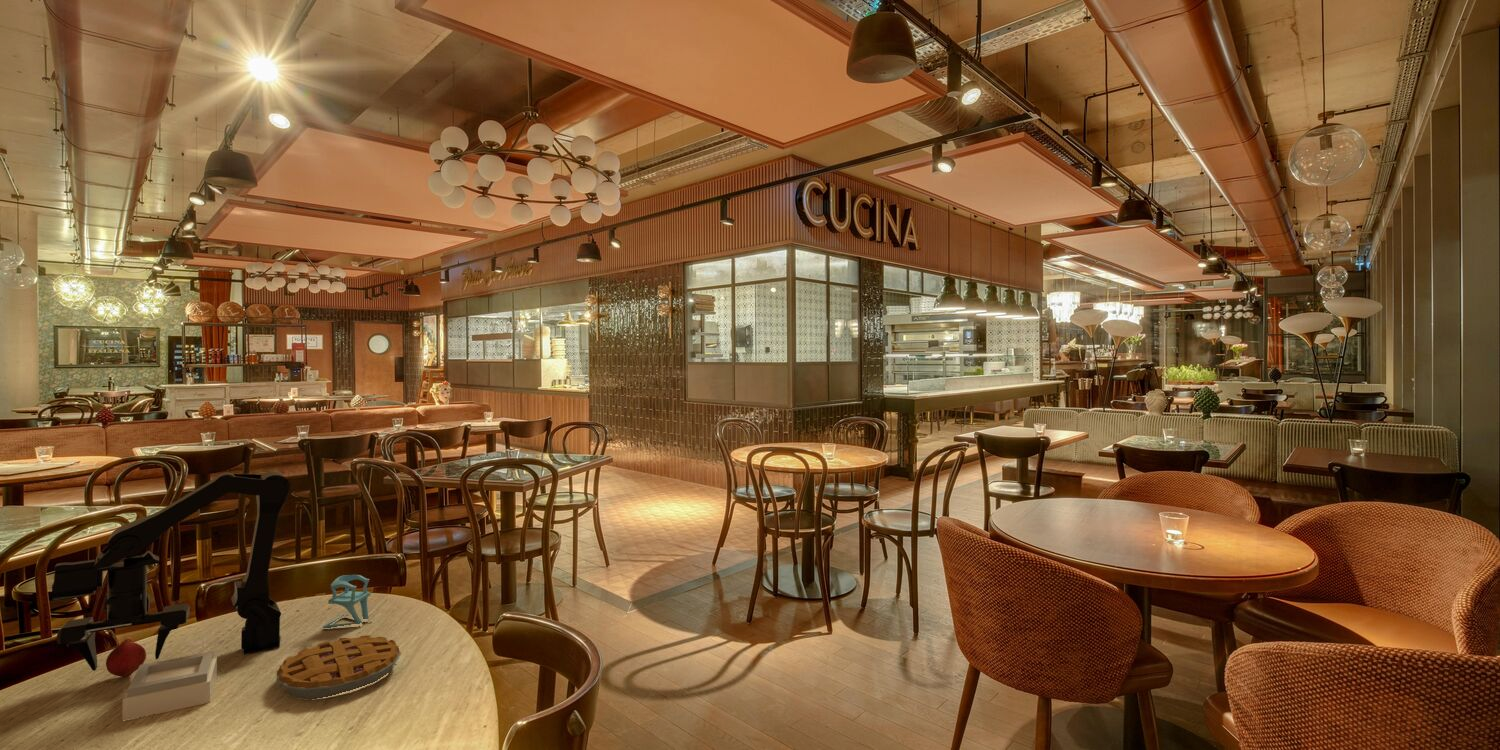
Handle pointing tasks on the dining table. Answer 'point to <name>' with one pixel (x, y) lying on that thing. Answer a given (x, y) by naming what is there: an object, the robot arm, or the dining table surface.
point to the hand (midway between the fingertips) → (126, 663)
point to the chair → (349, 598)
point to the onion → (125, 658)
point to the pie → (337, 666)
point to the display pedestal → (170, 685)
